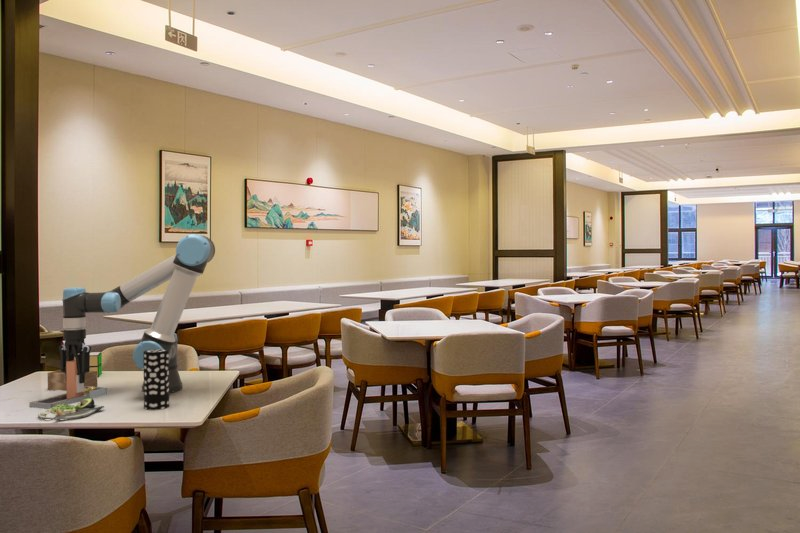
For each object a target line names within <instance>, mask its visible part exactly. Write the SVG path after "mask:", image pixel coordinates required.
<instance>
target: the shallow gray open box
mask: <svg viewBox="0 0 800 533" xmlns="http://www.w3.org/2000/svg"><path fill="white" fill-rule="evenodd" d="M87 398H90V394H85V395H81V396H77V397H73V398H69V399H67V392H66V393H62V394H58V395H54V396H50V397H46V398H41V399H38V400H34V401H30V402H29V406H28V407H29V408H36V409H44V410H49V409H51V408H52V407H55V406H56V405H61V404H68V405H73V404H75V403H80V401H82V400H84V399H87Z"/></svg>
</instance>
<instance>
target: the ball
mask: <svg viewBox="0 0 800 533" xmlns="http://www.w3.org/2000/svg"><path fill="white" fill-rule="evenodd" d="M87 390H88V394H89V392H90V391H94V390H96V388H95V387H93V386H90V387H88V389H87Z"/></svg>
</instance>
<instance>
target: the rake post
mask: <svg viewBox="0 0 800 533" xmlns="http://www.w3.org/2000/svg"><path fill="white" fill-rule="evenodd" d="M81 371H82V370H81ZM66 374H67V391H66V393H67V399H69V398H73V397H77V396H81V395H84V391H83V392H79V393H76V375H77V374H78V371H77V365H76V360H72V361H66Z"/></svg>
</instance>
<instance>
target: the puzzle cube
mask: <svg viewBox="0 0 800 533" xmlns="http://www.w3.org/2000/svg"><path fill="white" fill-rule="evenodd" d="M102 354H103V353H102V351H95V352H94V351H93V352H91V351H90V369H89V371H97V378H99V377H100V376H101V375H102V374H103V365H102V362H103V361H102V360H103V357H102V356H103V355H102ZM74 360H76V359H75V357H74ZM101 373H102V374H101Z"/></svg>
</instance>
